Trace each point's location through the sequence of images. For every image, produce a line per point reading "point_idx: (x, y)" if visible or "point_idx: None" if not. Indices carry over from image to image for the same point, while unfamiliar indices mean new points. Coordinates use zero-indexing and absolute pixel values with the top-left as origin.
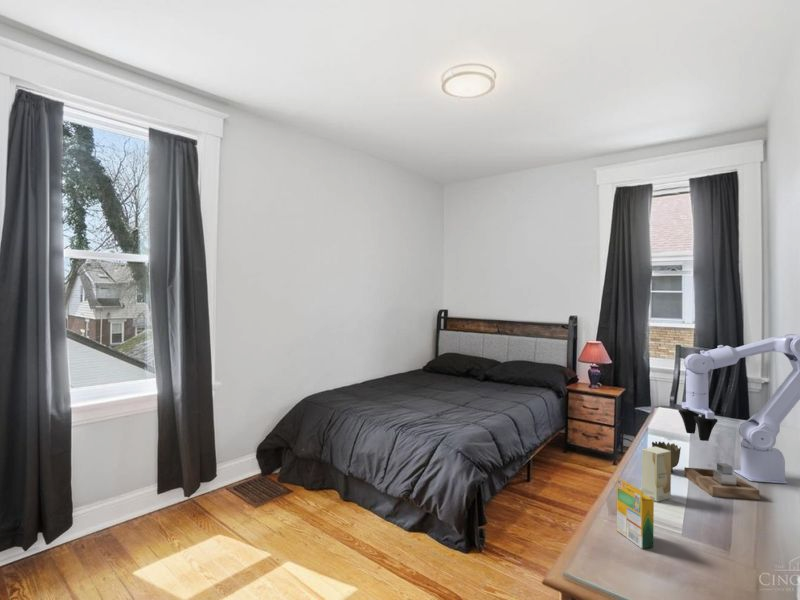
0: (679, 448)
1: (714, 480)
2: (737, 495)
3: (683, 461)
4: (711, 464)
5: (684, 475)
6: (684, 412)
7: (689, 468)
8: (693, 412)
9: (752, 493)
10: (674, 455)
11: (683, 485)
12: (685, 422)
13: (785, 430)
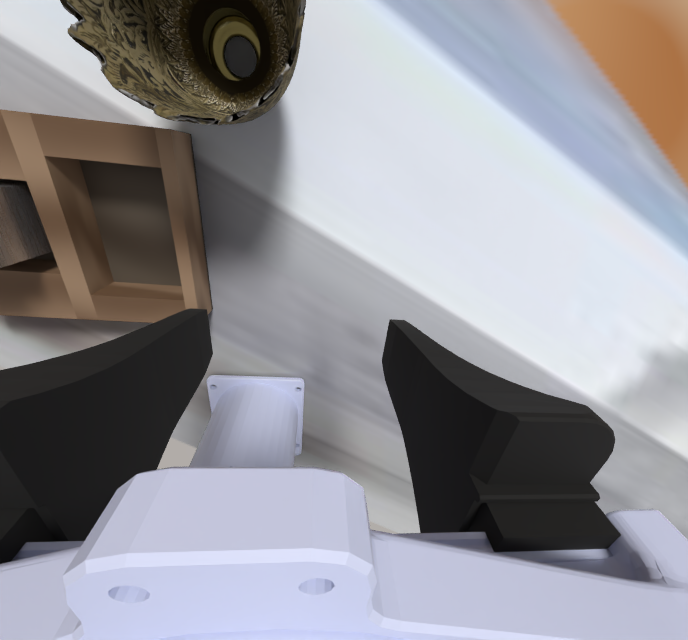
0: (175, 113)
1: (3, 184)
2: None
3: (401, 259)
4: (370, 348)
5: (189, 134)
6: (479, 442)
7: (161, 152)
8: (445, 526)
9: None
10: (96, 15)
11: (15, 20)
12: (422, 357)
13: None
